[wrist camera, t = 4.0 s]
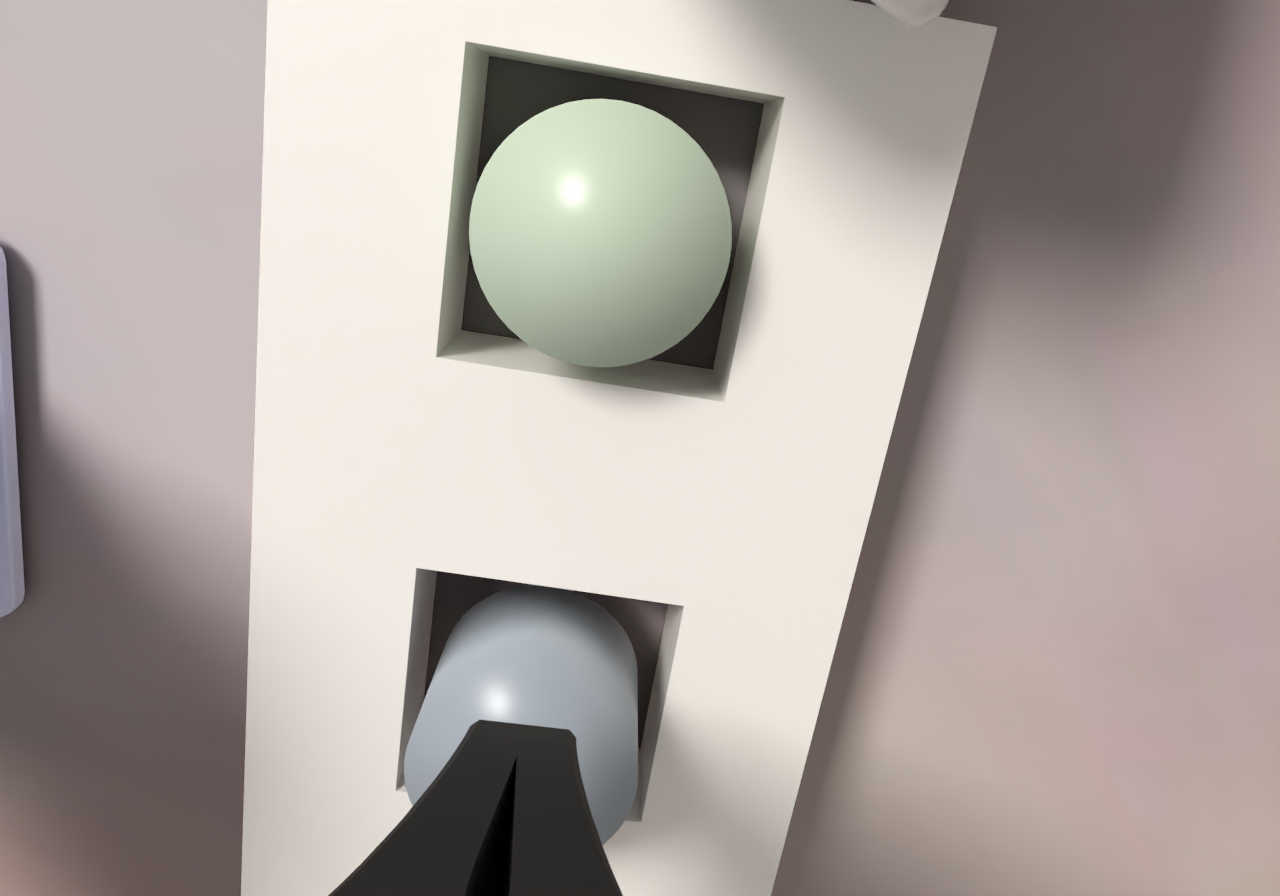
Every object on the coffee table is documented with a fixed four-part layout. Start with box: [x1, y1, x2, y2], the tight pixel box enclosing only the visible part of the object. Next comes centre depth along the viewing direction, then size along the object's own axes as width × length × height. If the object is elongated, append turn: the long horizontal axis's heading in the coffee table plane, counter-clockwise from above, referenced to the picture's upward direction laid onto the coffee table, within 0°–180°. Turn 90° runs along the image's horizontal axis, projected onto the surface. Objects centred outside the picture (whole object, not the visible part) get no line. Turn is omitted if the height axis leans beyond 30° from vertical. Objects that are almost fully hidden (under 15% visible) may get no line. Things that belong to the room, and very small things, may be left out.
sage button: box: [469, 99, 732, 368], centre depth 15 cm, size 4×4×3 cm
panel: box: [241, 0, 997, 896], centre depth 19 cm, size 11×26×2 cm, turn 171°
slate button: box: [404, 585, 638, 845], centre depth 17 cm, size 4×4×3 cm
